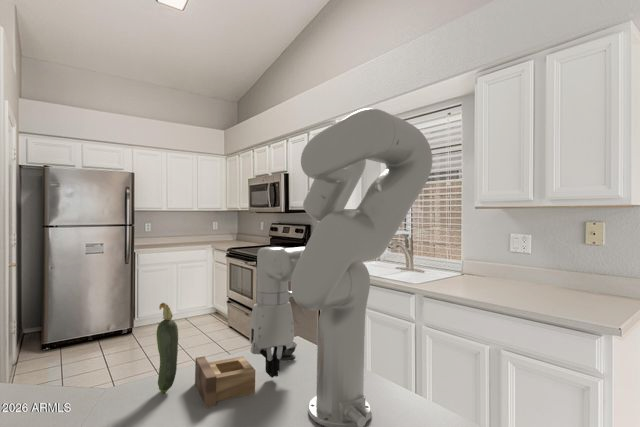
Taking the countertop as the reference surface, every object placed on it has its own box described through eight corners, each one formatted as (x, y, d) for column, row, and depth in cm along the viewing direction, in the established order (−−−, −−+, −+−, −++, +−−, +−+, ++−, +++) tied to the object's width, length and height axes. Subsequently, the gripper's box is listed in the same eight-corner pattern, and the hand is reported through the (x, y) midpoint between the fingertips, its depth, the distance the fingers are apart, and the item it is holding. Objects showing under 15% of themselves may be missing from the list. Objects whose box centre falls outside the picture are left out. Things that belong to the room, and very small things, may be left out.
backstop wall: (215, 405, 74) (216, 376, 74) (205, 407, 73) (206, 378, 73) (203, 381, 84) (204, 356, 84) (194, 383, 83) (195, 357, 83)
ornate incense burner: (282, 352, 104) (283, 311, 104) (300, 355, 101) (301, 313, 101) (271, 359, 99) (272, 315, 99) (289, 363, 96) (290, 318, 96)
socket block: (254, 392, 79) (255, 370, 79) (214, 402, 75) (214, 378, 75) (242, 376, 87) (243, 356, 87) (205, 384, 83) (205, 362, 83)
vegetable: (180, 389, 80) (182, 300, 80) (170, 399, 76) (172, 305, 76) (161, 388, 80) (164, 299, 81) (150, 397, 76) (153, 304, 76)
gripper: (293, 292, 93) (293, 363, 92) (237, 298, 86) (237, 375, 85) (307, 297, 86) (307, 374, 86) (247, 304, 79) (247, 388, 78)
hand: (272, 374), depth 85 cm, fingers closed
